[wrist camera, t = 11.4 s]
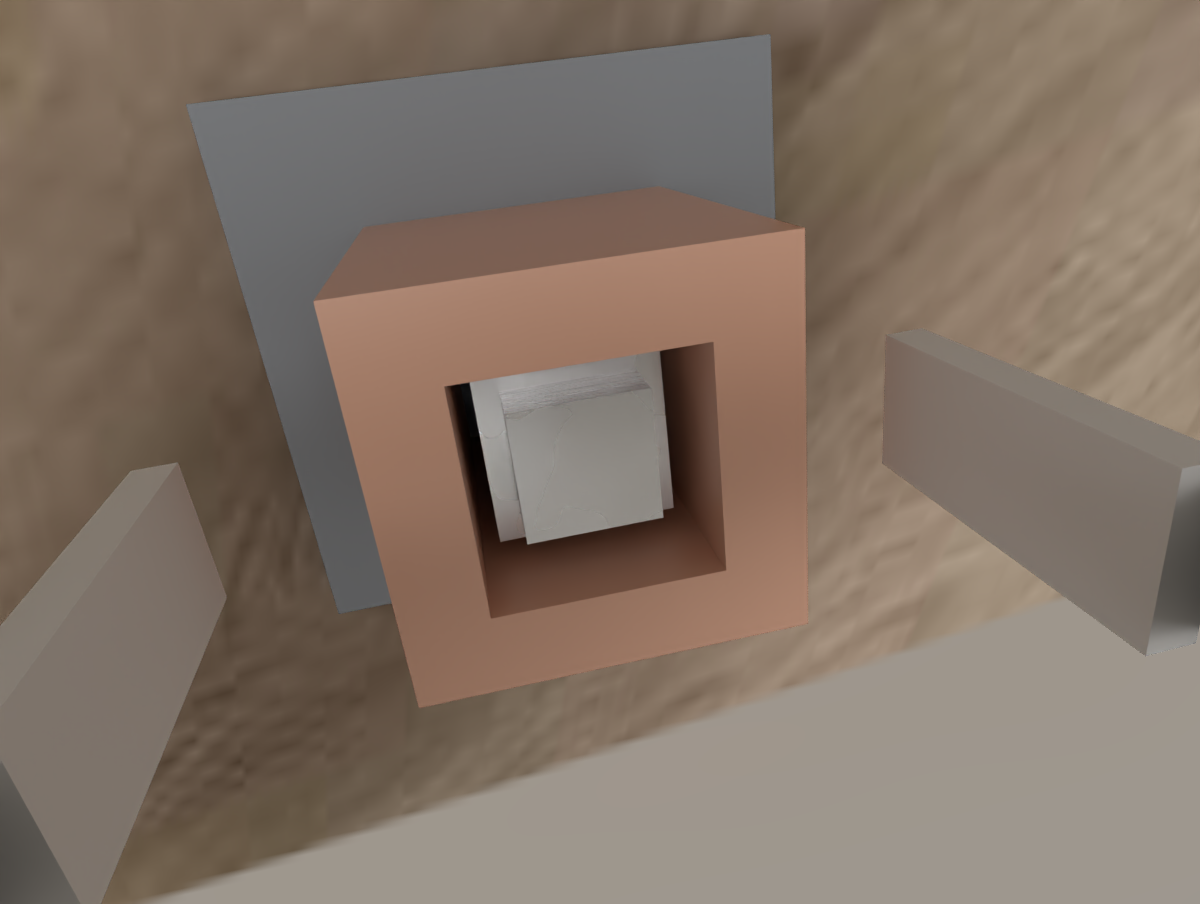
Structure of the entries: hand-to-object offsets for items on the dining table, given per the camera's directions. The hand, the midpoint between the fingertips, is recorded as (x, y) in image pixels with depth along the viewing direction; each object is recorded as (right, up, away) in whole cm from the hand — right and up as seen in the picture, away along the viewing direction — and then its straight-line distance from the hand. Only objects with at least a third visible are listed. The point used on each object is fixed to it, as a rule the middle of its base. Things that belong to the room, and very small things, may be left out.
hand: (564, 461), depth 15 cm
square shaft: (-1, +3, +7) cm, 8 cm away
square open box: (-1, +3, +7) cm, 8 cm away
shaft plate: (-1, +3, +8) cm, 9 cm away
